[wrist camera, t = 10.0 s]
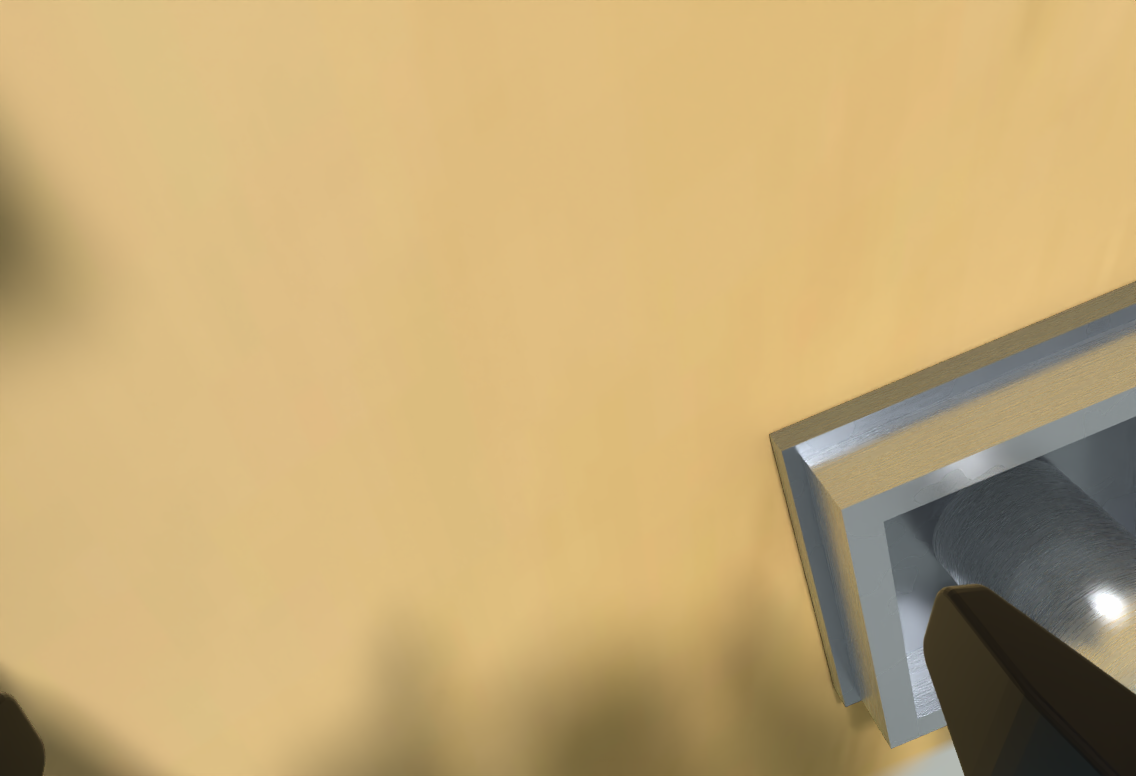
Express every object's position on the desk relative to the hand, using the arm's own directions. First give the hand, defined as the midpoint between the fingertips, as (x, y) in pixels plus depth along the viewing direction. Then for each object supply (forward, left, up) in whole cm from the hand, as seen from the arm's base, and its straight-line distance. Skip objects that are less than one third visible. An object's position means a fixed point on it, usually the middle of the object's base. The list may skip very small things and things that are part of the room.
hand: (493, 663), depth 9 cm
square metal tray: (+12, -16, -12) cm, 23 cm away
